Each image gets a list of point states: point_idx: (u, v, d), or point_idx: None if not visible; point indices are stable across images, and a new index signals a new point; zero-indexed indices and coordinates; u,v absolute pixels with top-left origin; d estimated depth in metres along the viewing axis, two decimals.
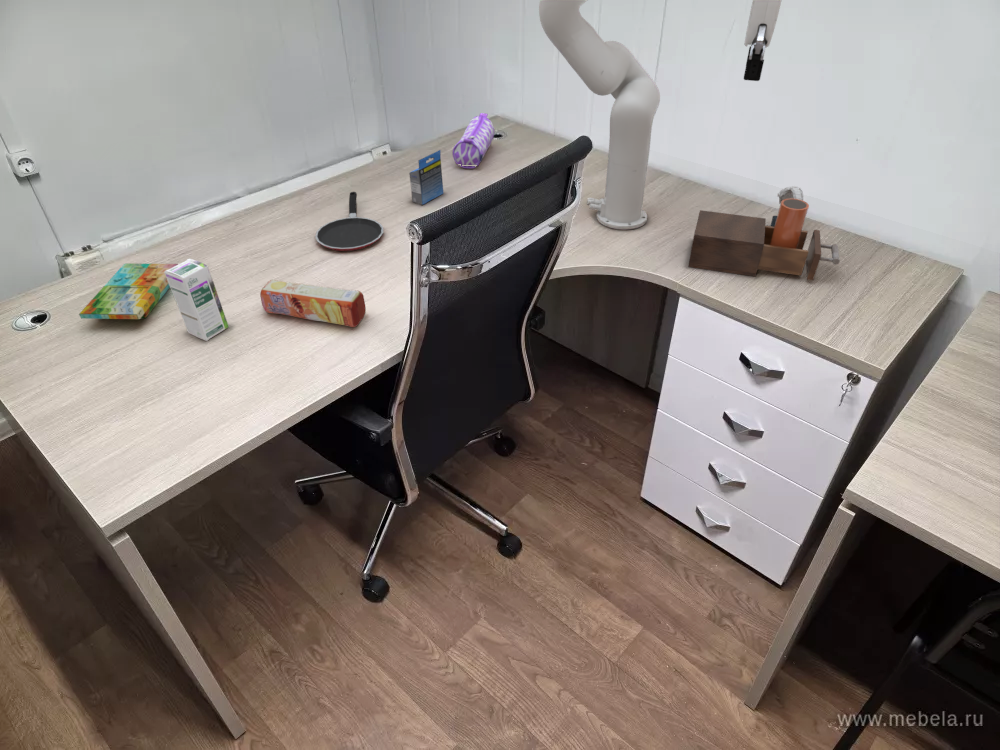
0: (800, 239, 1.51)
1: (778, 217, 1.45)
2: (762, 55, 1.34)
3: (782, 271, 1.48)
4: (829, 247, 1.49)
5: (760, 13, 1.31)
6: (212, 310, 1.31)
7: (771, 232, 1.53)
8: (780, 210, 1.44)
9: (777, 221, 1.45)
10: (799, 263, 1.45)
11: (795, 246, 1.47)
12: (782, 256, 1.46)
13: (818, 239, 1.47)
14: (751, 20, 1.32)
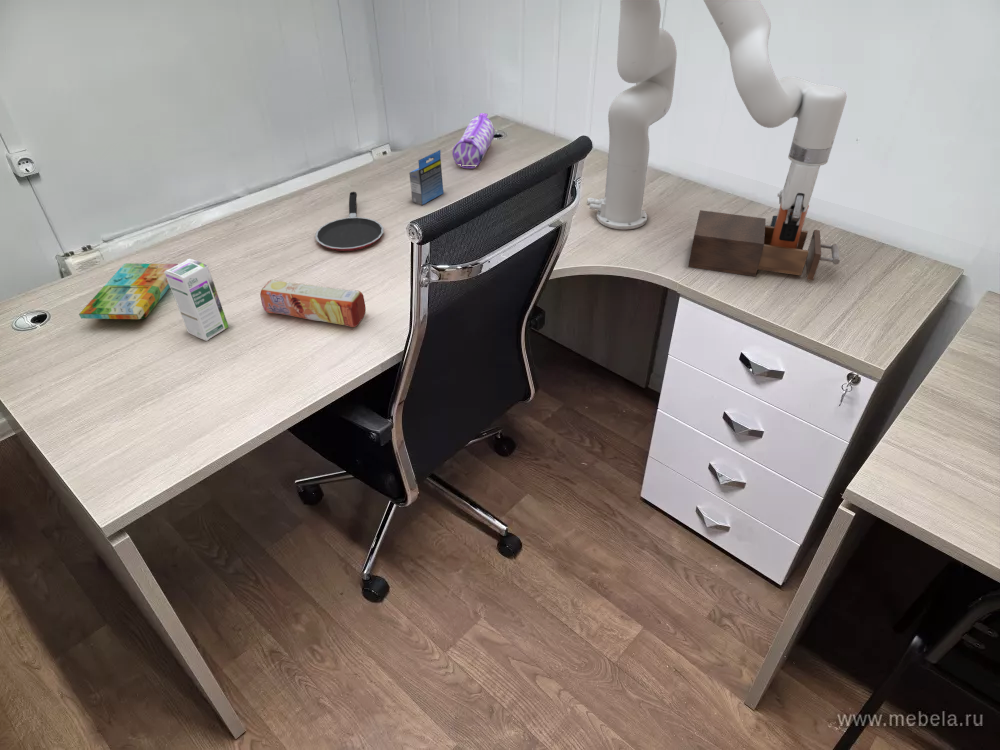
0: (800, 239, 1.51)
1: (778, 217, 1.45)
2: (798, 222, 1.41)
3: (782, 271, 1.48)
4: (829, 247, 1.49)
5: (798, 184, 1.36)
6: (212, 310, 1.31)
7: (771, 232, 1.53)
8: (780, 210, 1.44)
9: (777, 221, 1.45)
10: (799, 263, 1.45)
11: (795, 246, 1.47)
12: (782, 256, 1.46)
13: (818, 239, 1.47)
14: (789, 189, 1.37)
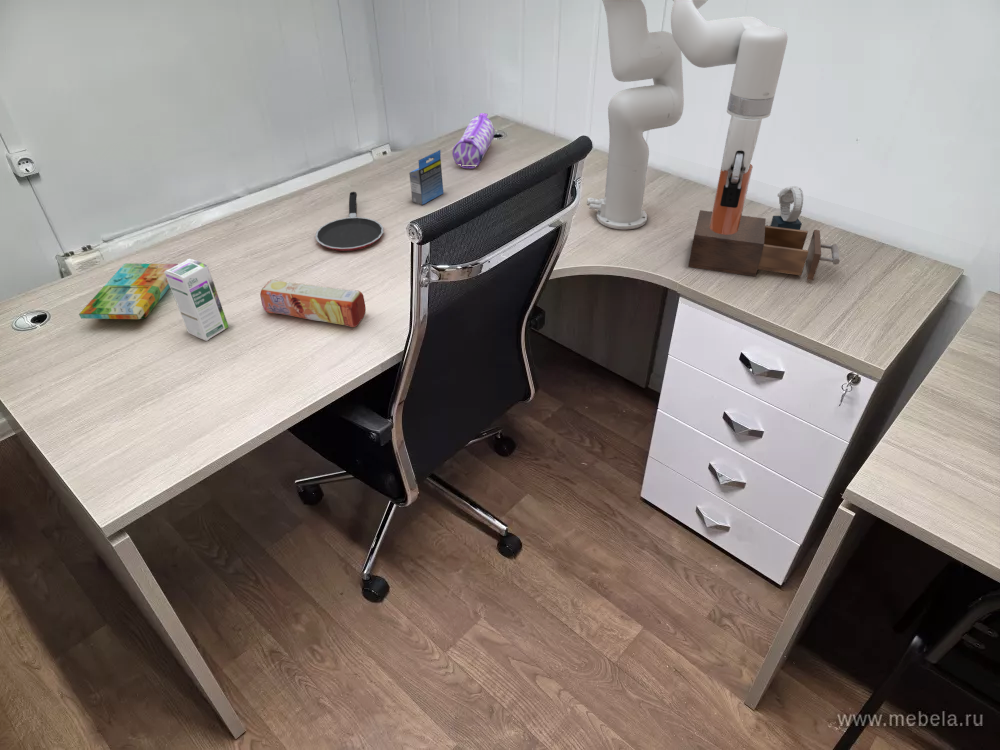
0: (800, 239, 1.51)
1: (719, 180, 1.29)
2: (739, 185, 1.25)
3: (782, 271, 1.48)
4: (829, 247, 1.49)
5: (737, 140, 1.20)
6: (212, 310, 1.31)
7: (771, 232, 1.53)
8: (721, 172, 1.28)
9: (718, 185, 1.30)
10: (799, 263, 1.45)
11: (739, 213, 1.31)
12: (782, 256, 1.46)
13: (818, 239, 1.47)
14: (727, 146, 1.22)
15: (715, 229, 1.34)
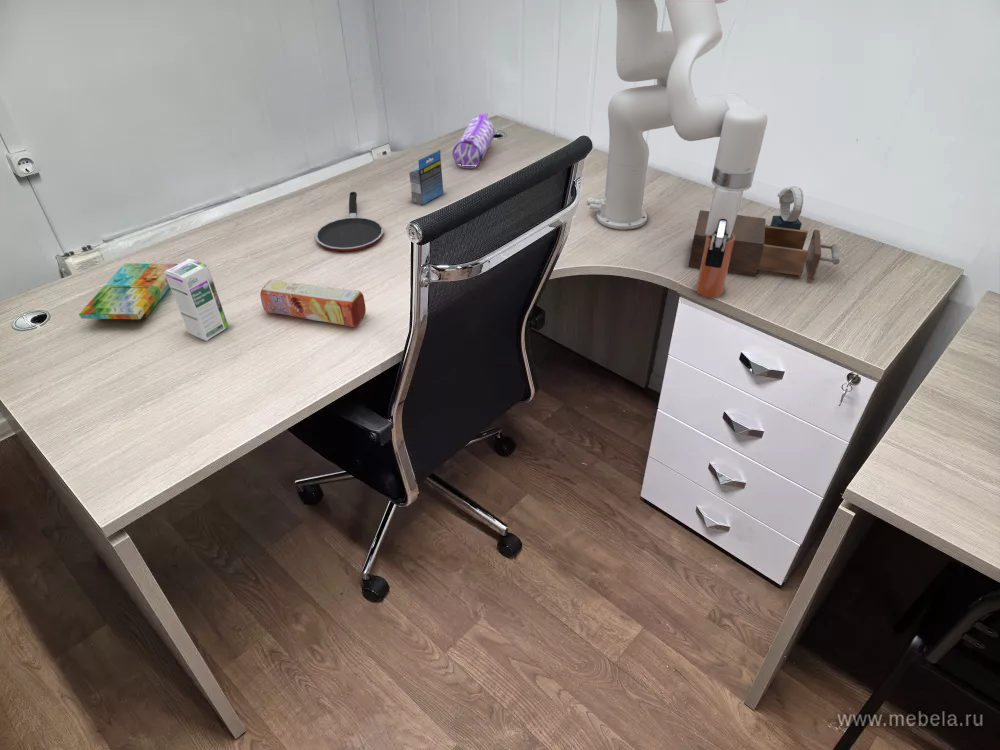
0: (800, 239, 1.51)
1: (704, 249, 1.38)
2: (723, 247, 1.32)
3: (782, 271, 1.48)
4: (829, 247, 1.49)
5: (720, 209, 1.29)
6: (212, 310, 1.31)
7: (771, 232, 1.53)
8: (706, 242, 1.37)
9: (704, 253, 1.39)
10: (799, 263, 1.45)
11: (723, 279, 1.41)
12: (782, 256, 1.46)
13: (818, 239, 1.47)
14: (711, 214, 1.30)
15: (701, 292, 1.43)
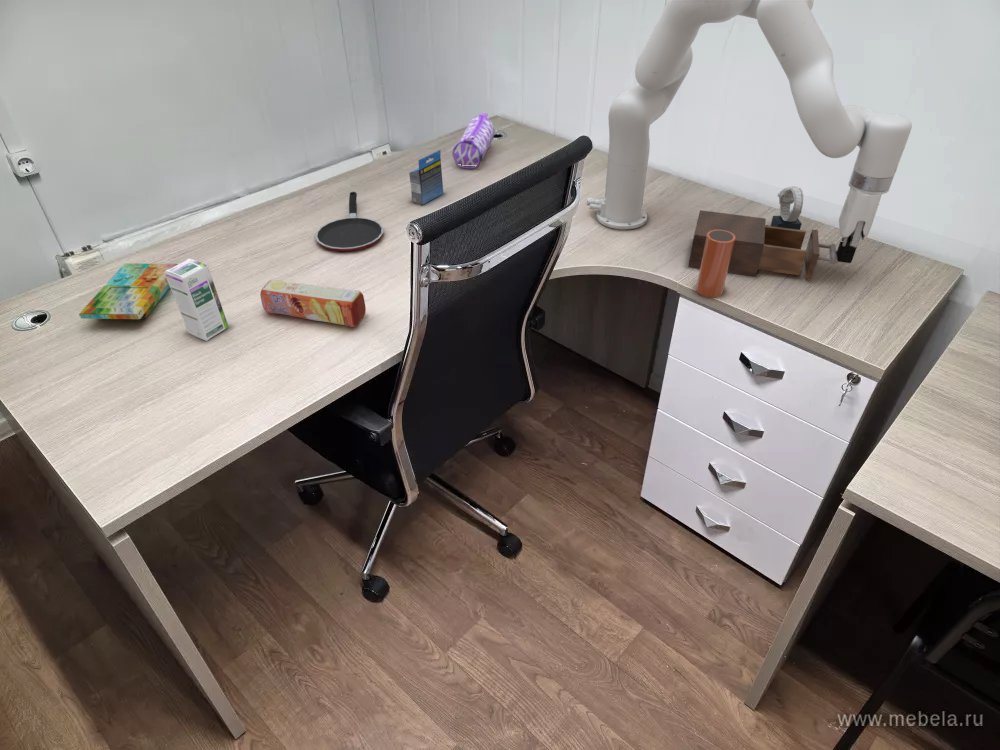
0: (798, 239, 1.51)
1: (704, 249, 1.38)
2: None
3: (780, 271, 1.48)
4: (827, 247, 1.49)
5: (860, 212, 1.35)
6: (212, 310, 1.31)
7: (769, 232, 1.53)
8: (706, 242, 1.37)
9: (704, 253, 1.39)
10: (797, 263, 1.45)
11: (723, 279, 1.41)
12: (780, 256, 1.46)
13: (816, 239, 1.47)
14: (850, 217, 1.36)
15: (701, 292, 1.43)
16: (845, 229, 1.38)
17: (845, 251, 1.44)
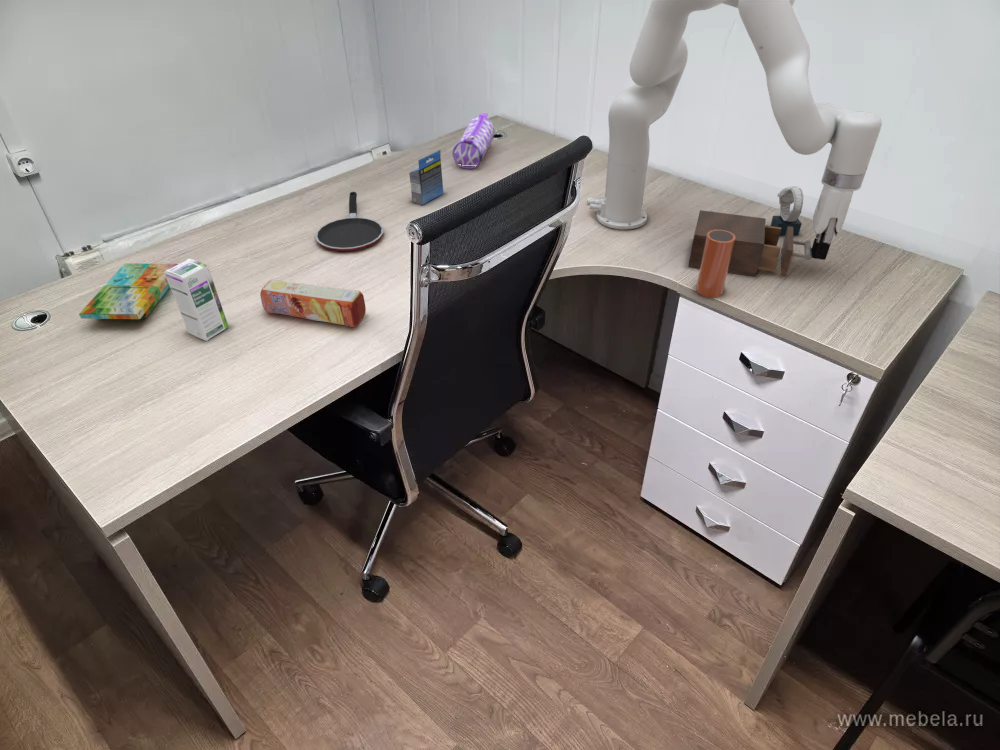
0: (774, 236, 1.53)
1: (704, 249, 1.38)
2: (829, 242, 1.44)
3: None
4: (802, 243, 1.50)
5: (832, 209, 1.36)
6: (212, 310, 1.31)
7: None
8: (706, 242, 1.37)
9: (704, 253, 1.39)
10: (772, 259, 1.47)
11: (723, 279, 1.41)
12: None
13: (791, 235, 1.48)
14: (822, 213, 1.38)
15: (701, 292, 1.43)
16: (818, 226, 1.39)
17: (819, 248, 1.45)
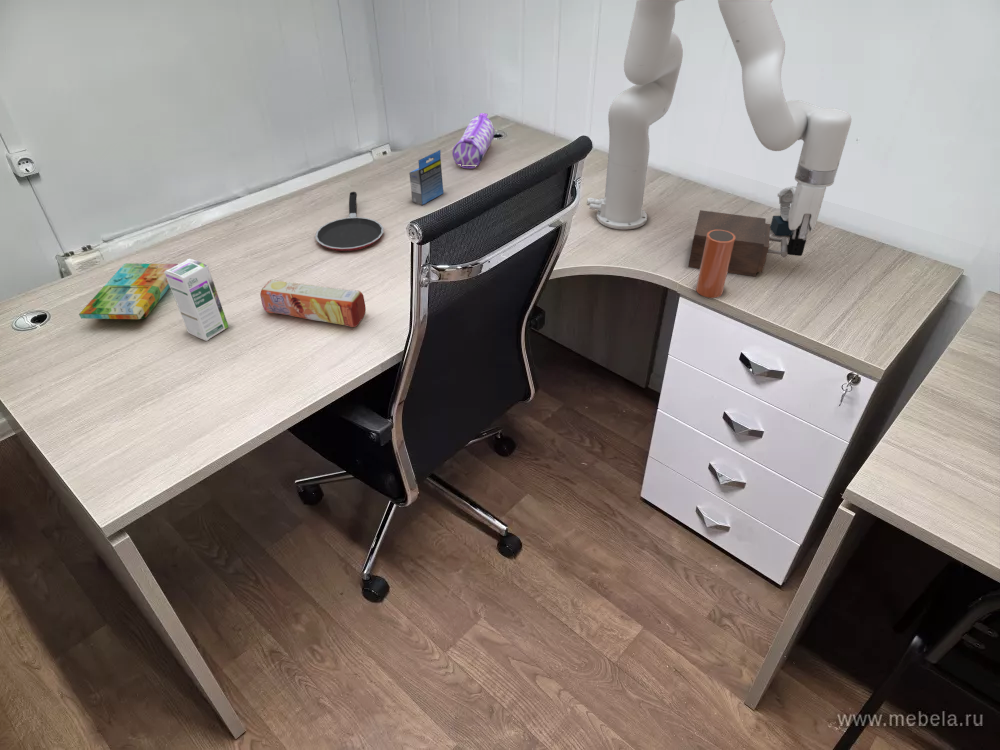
0: None
1: (704, 249, 1.38)
2: (804, 239, 1.45)
3: None
4: (779, 240, 1.52)
5: (805, 205, 1.38)
6: (212, 310, 1.31)
7: None
8: (706, 242, 1.37)
9: (704, 253, 1.39)
10: None
11: (723, 279, 1.41)
12: None
13: (767, 232, 1.50)
14: (796, 210, 1.39)
15: (701, 292, 1.43)
16: (792, 222, 1.41)
17: (795, 244, 1.47)
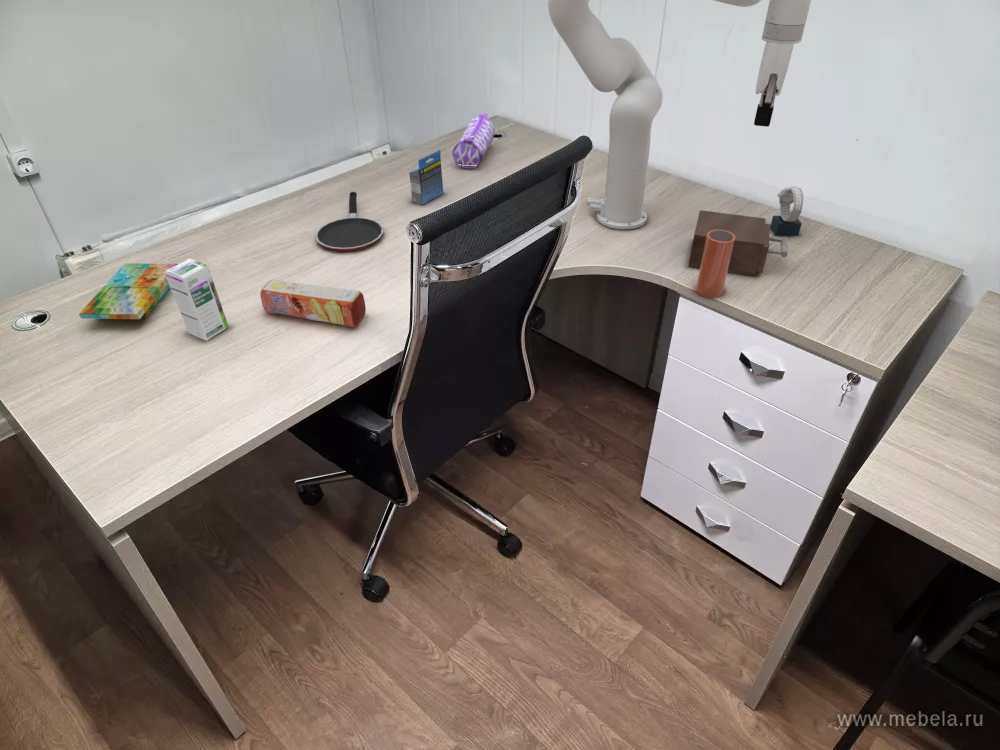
0: None
1: (704, 249, 1.38)
2: (771, 106, 1.41)
3: None
4: (779, 240, 1.52)
5: (771, 64, 1.34)
6: (212, 310, 1.31)
7: None
8: (706, 242, 1.37)
9: (704, 253, 1.39)
10: None
11: (723, 279, 1.41)
12: None
13: (767, 232, 1.50)
14: (762, 70, 1.35)
15: (701, 292, 1.43)
16: (758, 84, 1.37)
17: (762, 112, 1.43)
